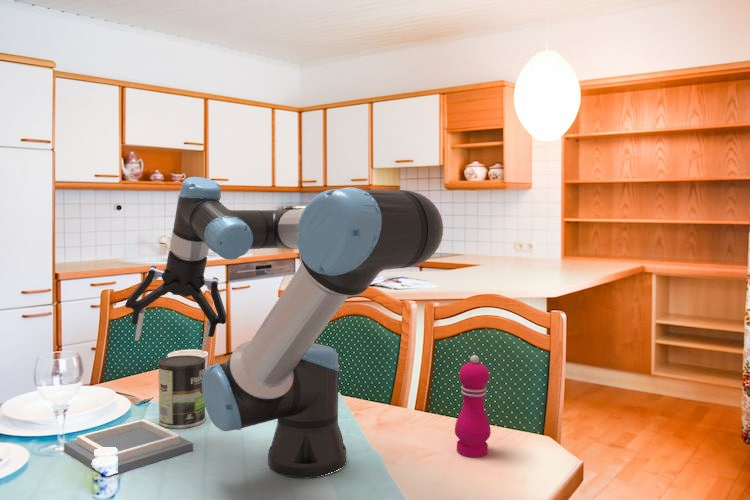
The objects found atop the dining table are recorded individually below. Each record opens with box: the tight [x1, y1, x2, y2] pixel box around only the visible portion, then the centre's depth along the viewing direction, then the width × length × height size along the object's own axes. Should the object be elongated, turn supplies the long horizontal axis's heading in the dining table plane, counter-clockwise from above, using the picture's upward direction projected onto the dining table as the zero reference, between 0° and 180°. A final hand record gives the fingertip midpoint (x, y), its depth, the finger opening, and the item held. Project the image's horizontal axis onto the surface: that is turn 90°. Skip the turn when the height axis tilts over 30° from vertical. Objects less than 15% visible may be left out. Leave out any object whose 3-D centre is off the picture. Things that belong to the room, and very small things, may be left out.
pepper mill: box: [454, 354, 492, 458], centre depth 133 cm, size 7×7×20 cm
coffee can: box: [157, 355, 206, 429], centre depth 148 cm, size 10×10×14 cm
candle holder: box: [166, 349, 209, 370], centre depth 163 cm, size 10×10×12 cm
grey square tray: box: [63, 418, 194, 475], centre depth 131 cm, size 18×18×3 cm
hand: (170, 342), depth 138 cm, fingers open, 13 cm apart
